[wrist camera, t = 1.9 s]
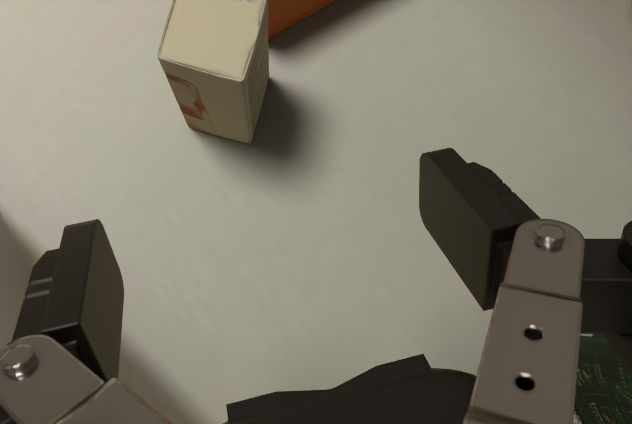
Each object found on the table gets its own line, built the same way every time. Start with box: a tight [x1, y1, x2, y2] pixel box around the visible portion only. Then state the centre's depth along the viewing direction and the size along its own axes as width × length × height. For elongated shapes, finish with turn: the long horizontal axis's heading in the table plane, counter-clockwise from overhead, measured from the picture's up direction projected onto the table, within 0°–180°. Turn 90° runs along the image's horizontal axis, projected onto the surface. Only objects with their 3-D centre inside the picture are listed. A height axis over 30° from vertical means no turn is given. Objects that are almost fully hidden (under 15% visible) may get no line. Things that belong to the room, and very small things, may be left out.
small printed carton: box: [157, 0, 269, 143], centre depth 32 cm, size 5×4×10 cm
